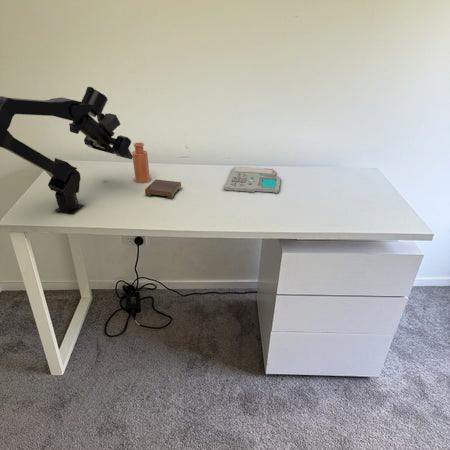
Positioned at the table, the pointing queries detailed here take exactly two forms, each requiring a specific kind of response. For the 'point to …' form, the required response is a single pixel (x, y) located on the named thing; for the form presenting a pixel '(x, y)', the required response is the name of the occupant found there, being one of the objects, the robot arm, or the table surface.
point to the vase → (140, 163)
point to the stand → (163, 188)
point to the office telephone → (253, 180)
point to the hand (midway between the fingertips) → (123, 155)
